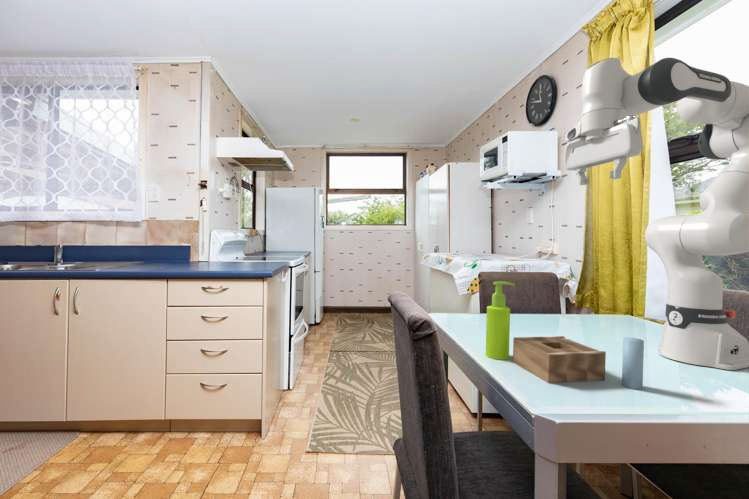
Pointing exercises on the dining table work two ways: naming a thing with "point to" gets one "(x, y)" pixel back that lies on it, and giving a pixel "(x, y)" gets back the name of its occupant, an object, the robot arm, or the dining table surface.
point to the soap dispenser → (498, 325)
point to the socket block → (558, 359)
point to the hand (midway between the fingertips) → (598, 181)
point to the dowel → (632, 363)
